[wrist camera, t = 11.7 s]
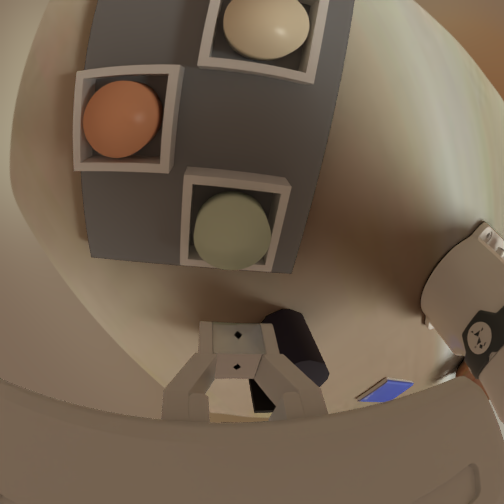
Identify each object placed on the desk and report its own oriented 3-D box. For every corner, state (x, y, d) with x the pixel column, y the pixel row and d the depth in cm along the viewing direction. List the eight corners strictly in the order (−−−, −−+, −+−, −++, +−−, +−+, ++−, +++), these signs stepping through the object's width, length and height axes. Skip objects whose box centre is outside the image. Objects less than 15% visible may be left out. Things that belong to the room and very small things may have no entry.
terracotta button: (166, 80, 14) (160, 79, 13) (159, 152, 17) (152, 158, 15) (98, 83, 13) (85, 84, 12) (95, 151, 16) (82, 158, 14)
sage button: (272, 195, 18) (278, 207, 17) (260, 256, 21) (263, 272, 19) (198, 187, 17) (196, 199, 16) (194, 251, 20) (191, 267, 18)
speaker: (279, 354, 34) (296, 421, 24) (241, 341, 32) (250, 414, 23) (316, 314, 31) (346, 381, 22) (276, 297, 29) (300, 370, 20)
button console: (344, 4, 13) (367, -9, 10) (286, 260, 26) (296, 288, 22) (114, -17, 10) (95, -33, 7) (98, 245, 23) (83, 270, 19)
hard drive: (358, 402, 46) (387, 403, 51) (388, 381, 43) (414, 384, 48) (355, 396, 48) (385, 397, 52) (385, 375, 44) (411, 379, 49)
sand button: (305, 7, 12) (314, -1, 10) (294, 67, 15) (302, 65, 13) (230, -7, 11) (231, -18, 9) (217, 55, 14) (216, 50, 12)
